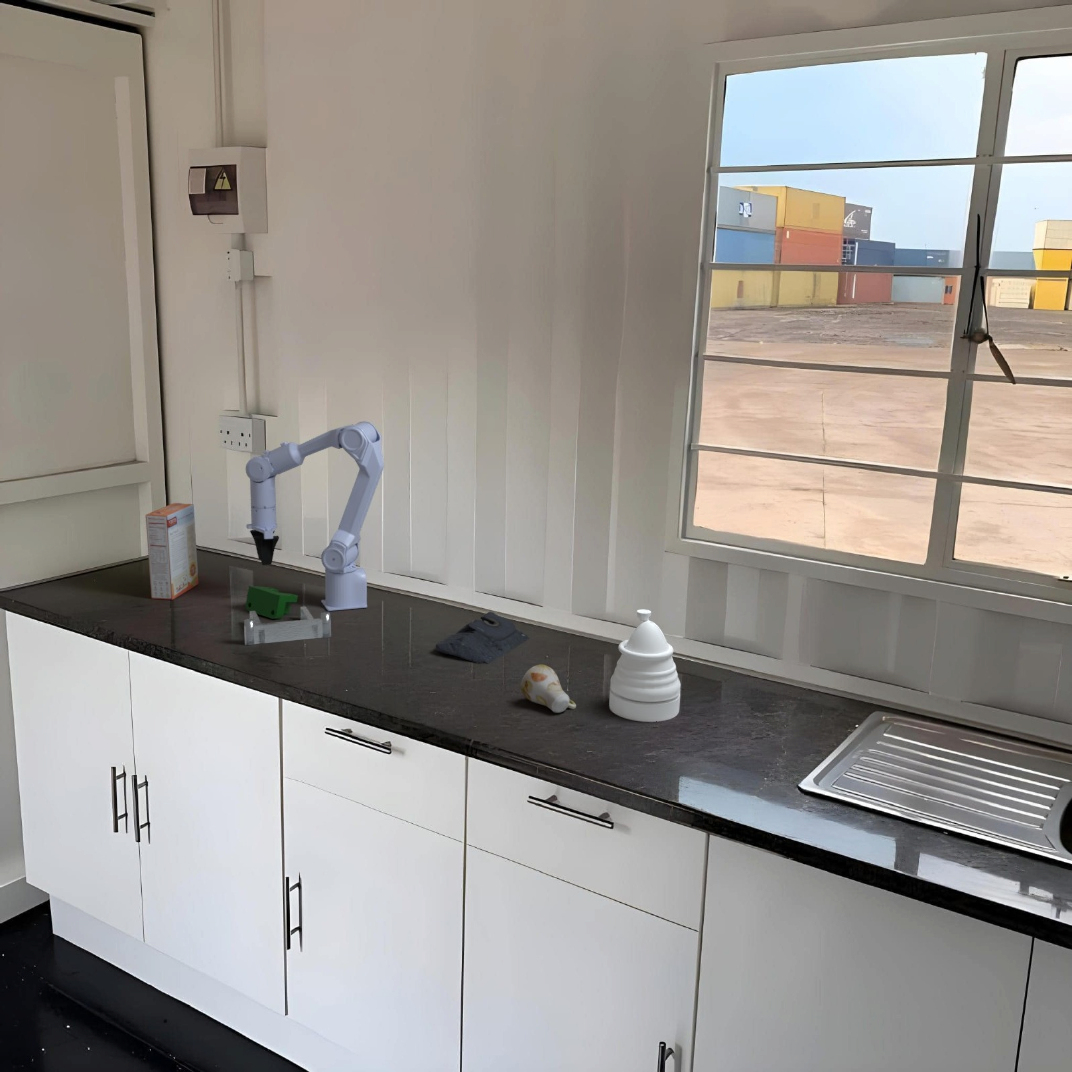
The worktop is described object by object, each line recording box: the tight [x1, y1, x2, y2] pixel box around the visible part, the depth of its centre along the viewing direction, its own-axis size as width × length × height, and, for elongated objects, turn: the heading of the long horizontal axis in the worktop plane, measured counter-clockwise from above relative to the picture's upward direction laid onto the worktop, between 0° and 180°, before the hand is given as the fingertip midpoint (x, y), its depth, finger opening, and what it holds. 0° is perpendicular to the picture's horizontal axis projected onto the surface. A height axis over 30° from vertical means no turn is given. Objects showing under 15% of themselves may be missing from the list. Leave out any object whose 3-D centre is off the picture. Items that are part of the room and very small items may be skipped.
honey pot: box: [608, 608, 682, 723], centre depth 189 cm, size 13×13×18 cm
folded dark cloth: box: [435, 611, 529, 664], centre depth 222 cm, size 15×22×5 cm
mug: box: [519, 664, 577, 714], centre depth 190 cm, size 8×10×10 cm
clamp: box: [245, 585, 299, 620], centre depth 239 cm, size 12×6×9 cm, turn 46°
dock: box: [243, 606, 332, 646], centre depth 226 cm, size 18×14×5 cm
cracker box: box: [145, 502, 199, 601], centre depth 251 cm, size 14×6×21 cm, turn 172°
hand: (265, 561), depth 247 cm, fingers open, 5 cm apart
